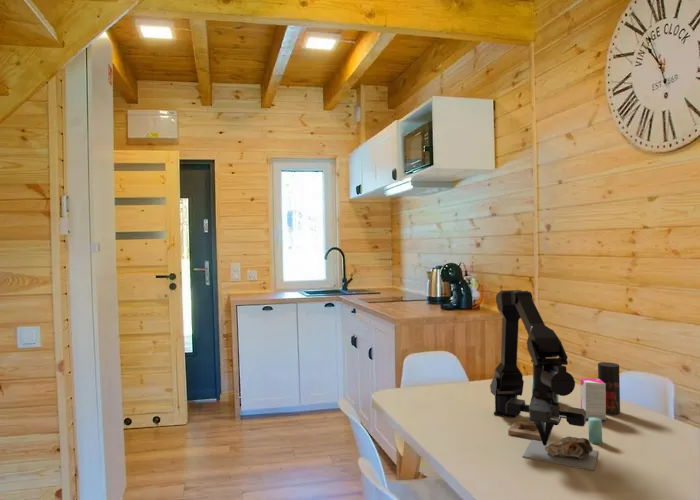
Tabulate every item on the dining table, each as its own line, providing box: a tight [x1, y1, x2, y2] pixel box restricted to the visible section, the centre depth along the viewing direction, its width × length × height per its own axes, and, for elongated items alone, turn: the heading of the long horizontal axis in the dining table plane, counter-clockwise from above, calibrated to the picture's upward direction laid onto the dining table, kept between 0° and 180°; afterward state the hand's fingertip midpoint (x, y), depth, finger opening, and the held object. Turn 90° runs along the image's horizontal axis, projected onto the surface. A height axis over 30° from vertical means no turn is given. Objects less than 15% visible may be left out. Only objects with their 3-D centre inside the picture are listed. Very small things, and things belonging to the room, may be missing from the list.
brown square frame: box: [507, 420, 546, 441], centre depth 139 cm, size 9×9×1 cm
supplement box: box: [580, 377, 607, 422], centre depth 150 cm, size 6×6×12 cm
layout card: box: [522, 439, 599, 471], centre depth 124 cm, size 16×12×1 cm
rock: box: [545, 436, 594, 459], centre depth 123 cm, size 9×6×10 cm
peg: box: [588, 417, 603, 445], centre depth 132 cm, size 3×3×6 cm
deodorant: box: [597, 361, 621, 416], centre depth 155 cm, size 6×6×15 cm
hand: (545, 445), depth 126 cm, fingers closed
